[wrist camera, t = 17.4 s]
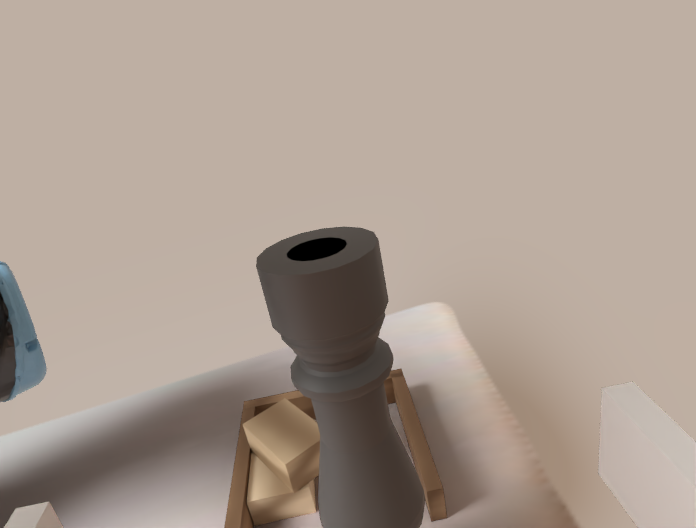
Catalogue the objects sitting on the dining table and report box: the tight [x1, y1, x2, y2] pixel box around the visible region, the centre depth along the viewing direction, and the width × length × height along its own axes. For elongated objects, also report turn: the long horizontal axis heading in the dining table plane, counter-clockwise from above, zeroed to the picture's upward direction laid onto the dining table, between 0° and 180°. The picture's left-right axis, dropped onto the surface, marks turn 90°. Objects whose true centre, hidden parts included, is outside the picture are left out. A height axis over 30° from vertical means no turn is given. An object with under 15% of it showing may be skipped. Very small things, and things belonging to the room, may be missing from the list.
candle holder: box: [256, 227, 425, 528], centre depth 28 cm, size 6×6×25 cm
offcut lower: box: [247, 452, 316, 526], centre depth 43 cm, size 5×8×3 cm, turn 7°
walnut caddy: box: [224, 369, 447, 528], centre depth 44 cm, size 16×16×3 cm
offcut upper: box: [243, 398, 320, 493], centre depth 42 cm, size 4×7×3 cm, turn 40°
